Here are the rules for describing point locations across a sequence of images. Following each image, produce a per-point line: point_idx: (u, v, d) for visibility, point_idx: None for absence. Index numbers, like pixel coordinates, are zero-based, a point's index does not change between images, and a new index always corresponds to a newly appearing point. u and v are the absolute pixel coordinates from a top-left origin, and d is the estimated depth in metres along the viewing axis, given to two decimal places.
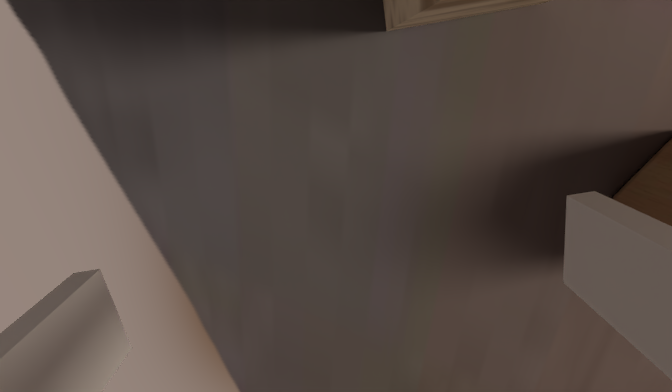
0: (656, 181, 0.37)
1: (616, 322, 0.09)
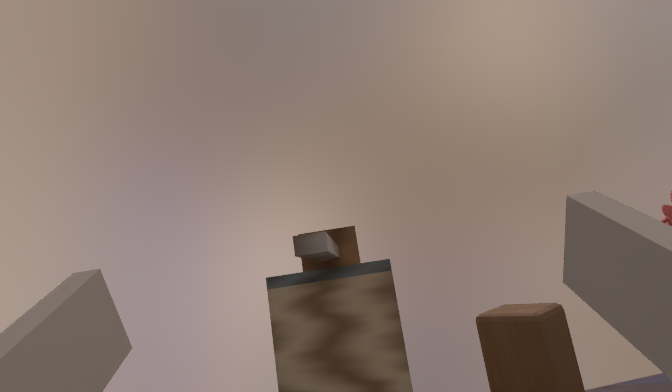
0: None
1: (616, 322, 0.09)
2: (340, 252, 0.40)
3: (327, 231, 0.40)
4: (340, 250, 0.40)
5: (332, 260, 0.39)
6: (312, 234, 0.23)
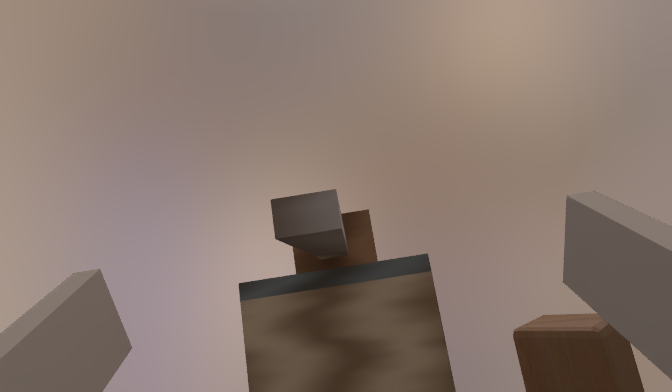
0: None
1: (616, 322, 0.09)
2: (349, 246, 0.28)
3: None
4: (349, 244, 0.28)
5: (338, 258, 0.28)
6: (310, 195, 0.11)
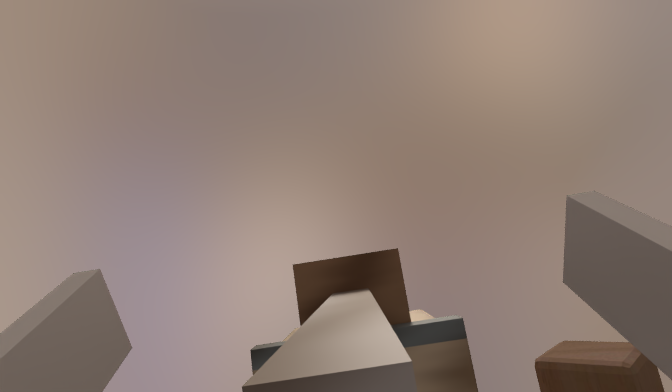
0: None
1: (616, 322, 0.09)
2: None
3: (347, 259, 0.21)
4: (372, 295, 0.21)
5: None
6: (345, 378, 0.04)
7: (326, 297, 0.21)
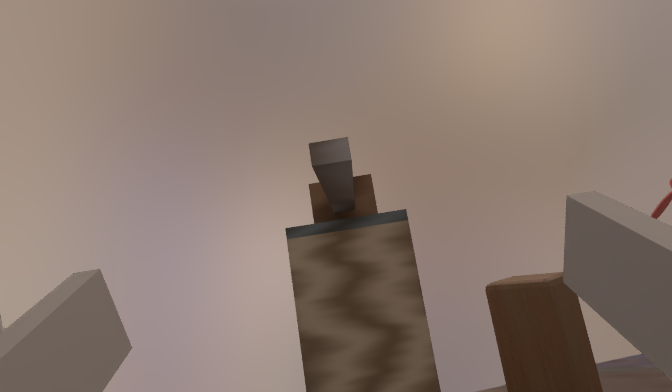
0: None
1: (616, 322, 0.09)
2: (355, 203, 0.36)
3: None
4: (355, 200, 0.36)
5: (346, 211, 0.36)
6: (332, 140, 0.19)
7: (328, 202, 0.36)
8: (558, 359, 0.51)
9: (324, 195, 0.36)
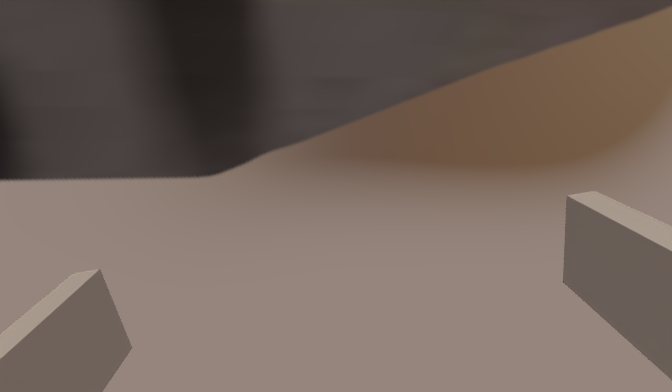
0: None
1: (616, 323, 0.09)
2: None
3: None
4: None
5: None
6: None
7: None
8: None
9: None
